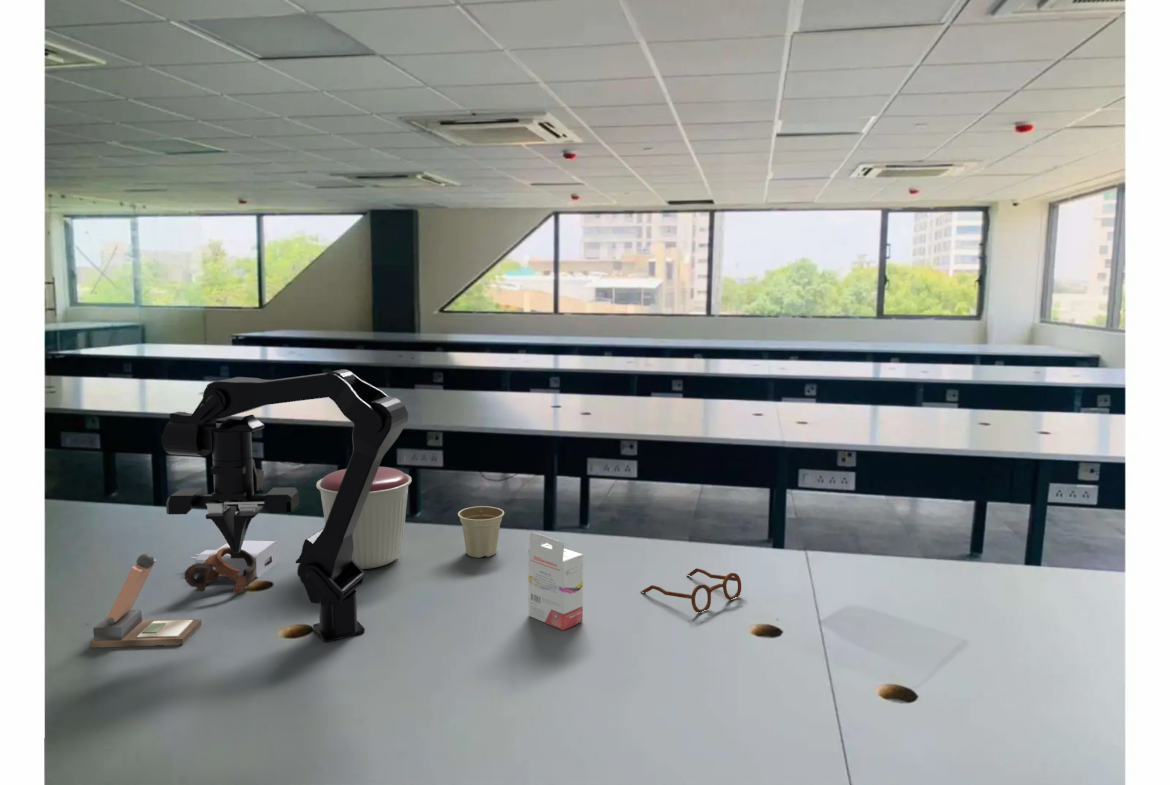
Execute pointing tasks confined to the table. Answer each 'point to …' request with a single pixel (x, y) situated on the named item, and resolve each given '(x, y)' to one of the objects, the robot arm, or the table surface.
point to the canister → (374, 515)
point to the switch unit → (142, 631)
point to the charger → (259, 550)
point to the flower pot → (481, 529)
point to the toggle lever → (131, 588)
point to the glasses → (709, 590)
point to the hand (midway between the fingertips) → (236, 552)
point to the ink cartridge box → (555, 582)
